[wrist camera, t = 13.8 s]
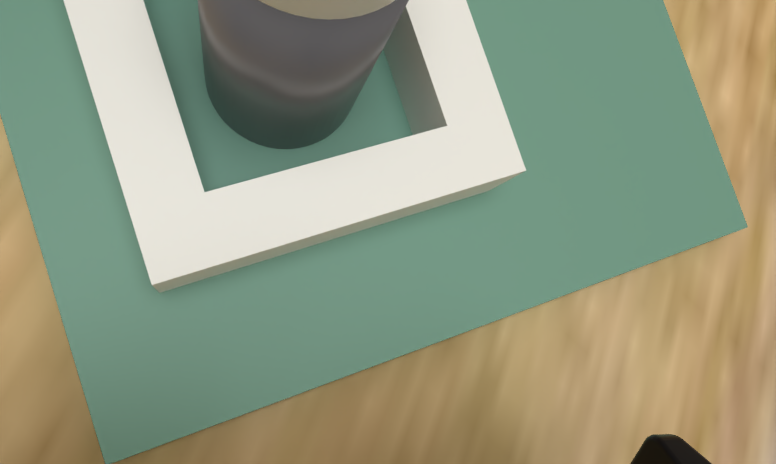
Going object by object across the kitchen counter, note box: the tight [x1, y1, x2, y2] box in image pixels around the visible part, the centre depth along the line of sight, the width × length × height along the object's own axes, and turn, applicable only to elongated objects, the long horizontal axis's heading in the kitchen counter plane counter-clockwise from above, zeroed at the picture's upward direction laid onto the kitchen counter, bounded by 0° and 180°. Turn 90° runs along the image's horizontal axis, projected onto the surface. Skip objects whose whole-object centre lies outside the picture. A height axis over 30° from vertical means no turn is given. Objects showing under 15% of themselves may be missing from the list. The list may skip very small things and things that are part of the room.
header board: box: [0, 0, 748, 464], centre depth 23 cm, size 16×24×4 cm, turn 109°
